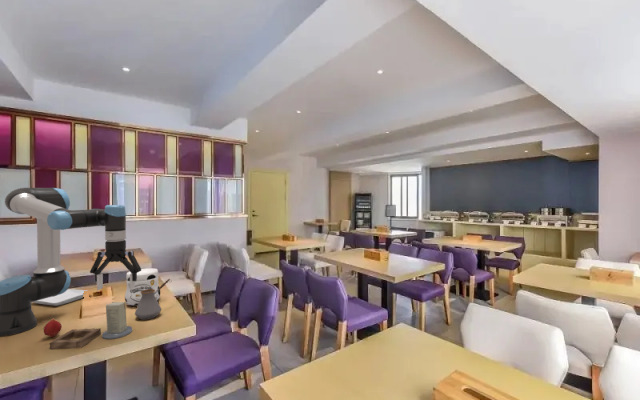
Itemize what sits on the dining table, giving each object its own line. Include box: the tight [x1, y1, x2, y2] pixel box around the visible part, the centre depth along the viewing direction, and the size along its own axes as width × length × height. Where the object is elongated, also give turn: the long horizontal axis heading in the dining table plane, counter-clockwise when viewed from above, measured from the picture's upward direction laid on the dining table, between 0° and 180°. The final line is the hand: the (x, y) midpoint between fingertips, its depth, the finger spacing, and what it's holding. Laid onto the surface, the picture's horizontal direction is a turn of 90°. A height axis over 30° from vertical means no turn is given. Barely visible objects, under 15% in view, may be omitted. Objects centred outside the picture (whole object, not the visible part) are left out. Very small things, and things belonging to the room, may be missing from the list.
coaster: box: [101, 325, 133, 340], centre depth 134 cm, size 11×11×1 cm
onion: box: [43, 318, 63, 338], centre depth 131 cm, size 6×6×8 cm
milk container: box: [124, 267, 161, 307], centre depth 172 cm, size 17×17×18 cm
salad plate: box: [32, 288, 87, 307], centre depth 179 cm, size 21×21×3 cm
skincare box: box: [105, 301, 128, 333], centre depth 134 cm, size 6×4×12 cm
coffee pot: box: [134, 278, 172, 321], centre depth 158 cm, size 21×12×15 cm, turn 166°
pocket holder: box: [48, 328, 102, 350], centre depth 127 cm, size 12×12×2 cm
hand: (116, 288), depth 134 cm, fingers open, 13 cm apart
